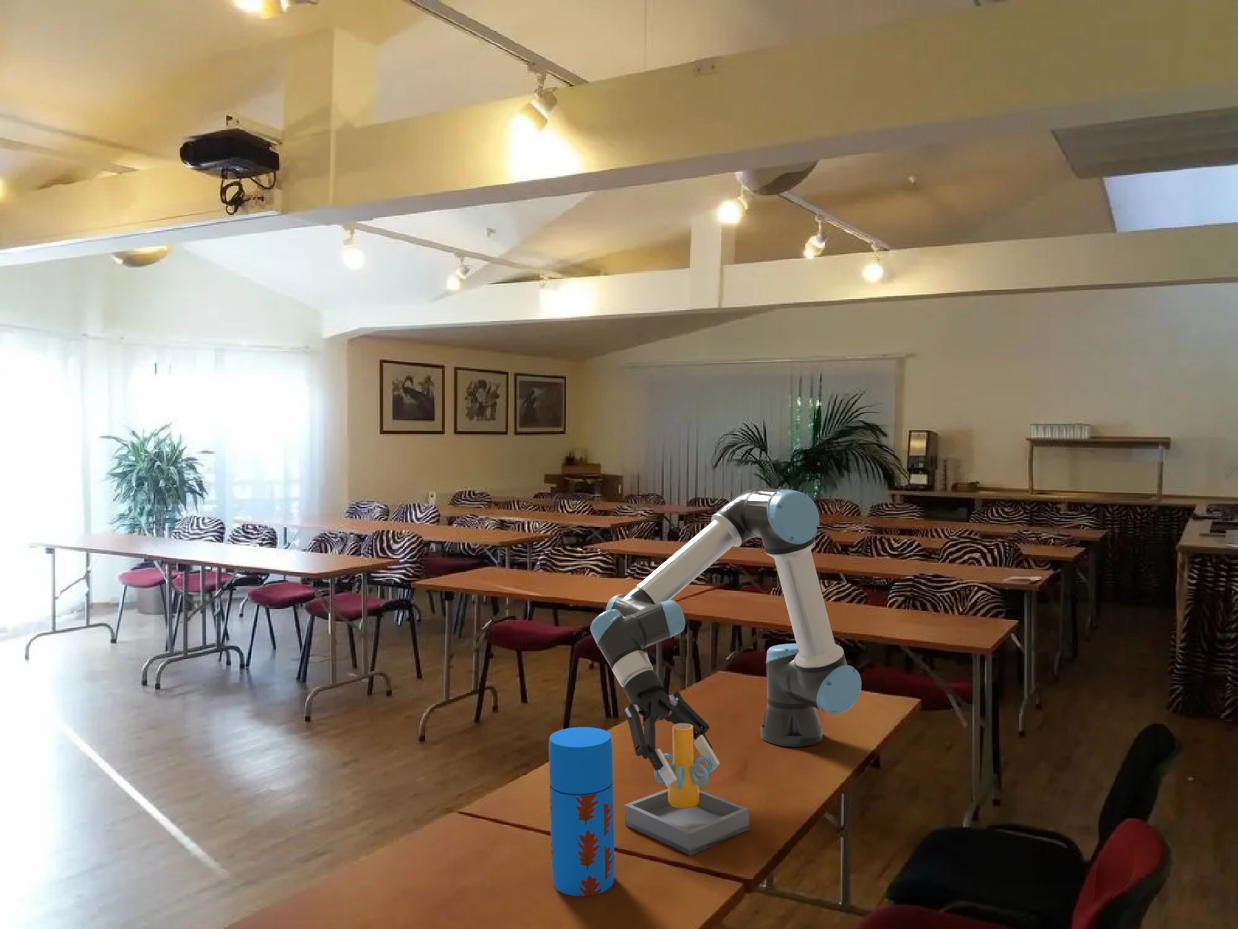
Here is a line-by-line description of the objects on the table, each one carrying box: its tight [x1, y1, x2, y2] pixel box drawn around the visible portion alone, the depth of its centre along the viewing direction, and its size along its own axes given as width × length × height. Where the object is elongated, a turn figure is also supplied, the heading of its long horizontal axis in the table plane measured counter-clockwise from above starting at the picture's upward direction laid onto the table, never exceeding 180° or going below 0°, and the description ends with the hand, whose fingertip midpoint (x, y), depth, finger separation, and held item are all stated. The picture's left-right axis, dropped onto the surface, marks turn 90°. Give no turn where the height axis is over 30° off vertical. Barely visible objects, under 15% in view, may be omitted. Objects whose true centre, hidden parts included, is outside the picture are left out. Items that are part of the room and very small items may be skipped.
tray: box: [623, 788, 750, 856], centre depth 178 cm, size 16×18×4 cm
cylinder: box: [653, 723, 712, 809], centre depth 178 cm, size 12×10×15 cm
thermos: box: [548, 726, 615, 897], centre depth 157 cm, size 11×11×25 cm
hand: (694, 775), depth 176 cm, fingers closed on cylinder, 11 cm apart
